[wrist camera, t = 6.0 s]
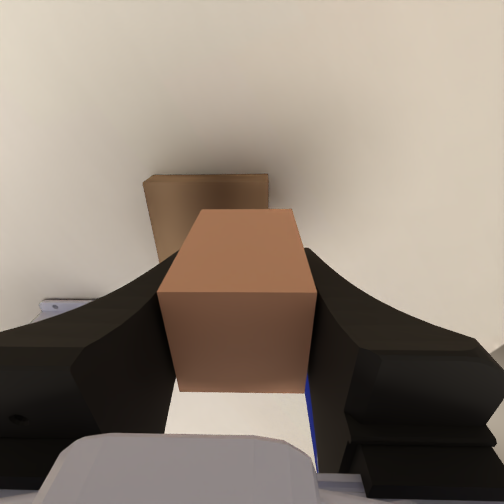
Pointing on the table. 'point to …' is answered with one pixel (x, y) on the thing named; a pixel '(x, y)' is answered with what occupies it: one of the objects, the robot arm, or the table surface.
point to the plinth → (197, 202)
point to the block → (240, 304)
